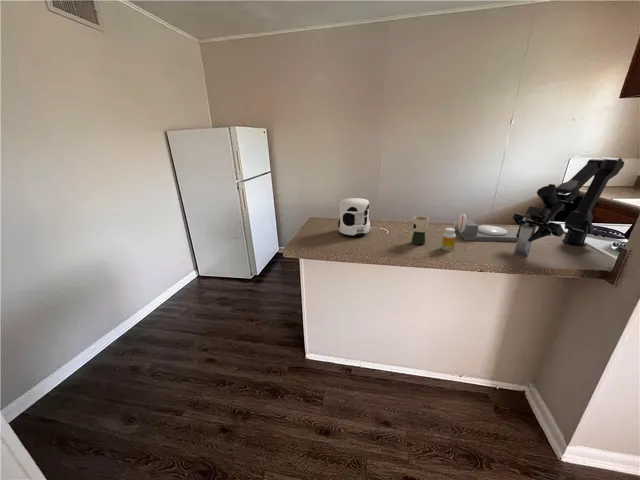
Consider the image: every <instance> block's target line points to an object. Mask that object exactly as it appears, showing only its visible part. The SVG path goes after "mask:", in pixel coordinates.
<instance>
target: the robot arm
mask: <svg viewBox="0 0 640 480" xmlns="http://www.w3.org/2000/svg"><path fill="white" fill-rule="evenodd" d="M624 167H625V161H624V160H623V159H622V158H620V157H619V158H617V157H606V156H605V157H600V158H590V159H589V160H588V161H587V162H586V164H585V165H584V166H583V167H582V168H581V169H580V170H579V171H578V172H576V173H575V175H573V176H572V178H570V179H569V180H568V181H565V182H563V183H561V184H559V185H558V186H556V184H553V183H552V184H551V183H550V184H549V183H548V185H546V186H542V187H541V188H539V189H538V190H537V191H536V195H537V196H538V198H539V200H540V202H541V204H542V207H535V206H531V205H530V206H528V208H527V210H526V212H525V213H526V214H527V215H529V216H528V217H529V218H527V217H526V215H525V214H522V213H518V212H517V213H516V212H515V213H514V214H513V216H512V219H513V221H514V223H515V224H516V225H518V226H519V227H518V230H517V232H516V234H515V235H516V237H517V238H518V236H519V233H520V229H521V225H522V224H531V225H534V226H536V227H538V228H537V230H535V233H534V234H533V235H532V237H531V238H530V239H529V242H532V243H533V242H534V241H536V240H539V239H542V238H545V237H547V236H549V237H550V236H555V237H558V238H560V237H562V236H563V234H565V235H564V239H561V240H562V242H564V243H566V244H568V245H570V246H587V244H586V243H585V241H586V238H587V236H588V235H591V234H592V233H593V232H594V230H595V227H594V225H593V223H592V222H593V220H594V217H593V212H592V211H594V208H595V206H596V204H597V203H598V201H599V199H600V196H601V195H602V193H603V191H604V190H605V188H606V186H607V184H608V183H609V181H610V180H611V179H612V178H614V177H615V176H617V175H618V174H619V172H620V171H621V170H623V168H624ZM590 179H592V181H591V182H590V184H589V186H588V187H587V190H586V191H585V194H584V196H583V197H582V199H581V201H580V203H579V205H578V207H577V208H575V209H574V210H571V211H569V212H568V215H567V216H566V218H565V220H564V228H563V227H562V224H560V223H558V222H553V221H554V220H555V219H556V218H555V216H556V215H557V214H558V213H559V212H560V211H565V204H564V203H563V202H566V203H572V202H574V201H575V200H576V198H577V197H578V196H579V195H580V189H581V188H582V187H583V186H584V185H585V184H586V183H587V182H588V181H590ZM564 229H565V230H567V232H565V231H564ZM564 232H565V233H564Z"/></svg>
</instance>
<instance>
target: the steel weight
mask: <svg viewBox="0 0 640 480" xmlns="http://www.w3.org/2000/svg"><path fill="white" fill-rule="evenodd" d="M536 229H537V226H534V225H531V224H522V225H521V229H520V233H519V236H518V240H517V242H516V245H515V249H514V254H515V255H517V256H519V257H527V256H529V254H530V249H531V246H532V243H533V241H532V242H529V239H530V238H531V237H532V235H533V234H534V233H535V232H536Z"/></svg>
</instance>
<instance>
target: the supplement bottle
mask: <svg viewBox="0 0 640 480" xmlns="http://www.w3.org/2000/svg"><path fill="white" fill-rule="evenodd" d="M455 232H456V229H455V228H453V227H446V228H445V231H444V233H442V240H441V245H440V246H441V247H440V248H441V249H442V250H443V251H447V252H448V251H453V250H454V249H455V243H456V237H457V235H456V233H455Z"/></svg>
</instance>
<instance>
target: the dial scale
mask: <svg viewBox="0 0 640 480" xmlns="http://www.w3.org/2000/svg"><path fill="white" fill-rule="evenodd" d="M454 229H455V231H456V232H457V233H458V234H459V233H460V234H459V235H460V236H461V235H462V236H461V237H462V238H463V239H464V240H465V241H483V242H484V241H485V242H489V241H491V242H516V243H517V240H518V238H517V237H516V235H517V234H515V233H513V232H512V231H510V230H508V229H507V228H505V227H504V226H502V225H488V224H487V225H485V224H484V225H478V224H477V223H476V222H475V221H474V220H472V219H471V218H470V217H467V216H466V214H465V213H461V214H459V217H458V220H457V224H455V226H454Z"/></svg>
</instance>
